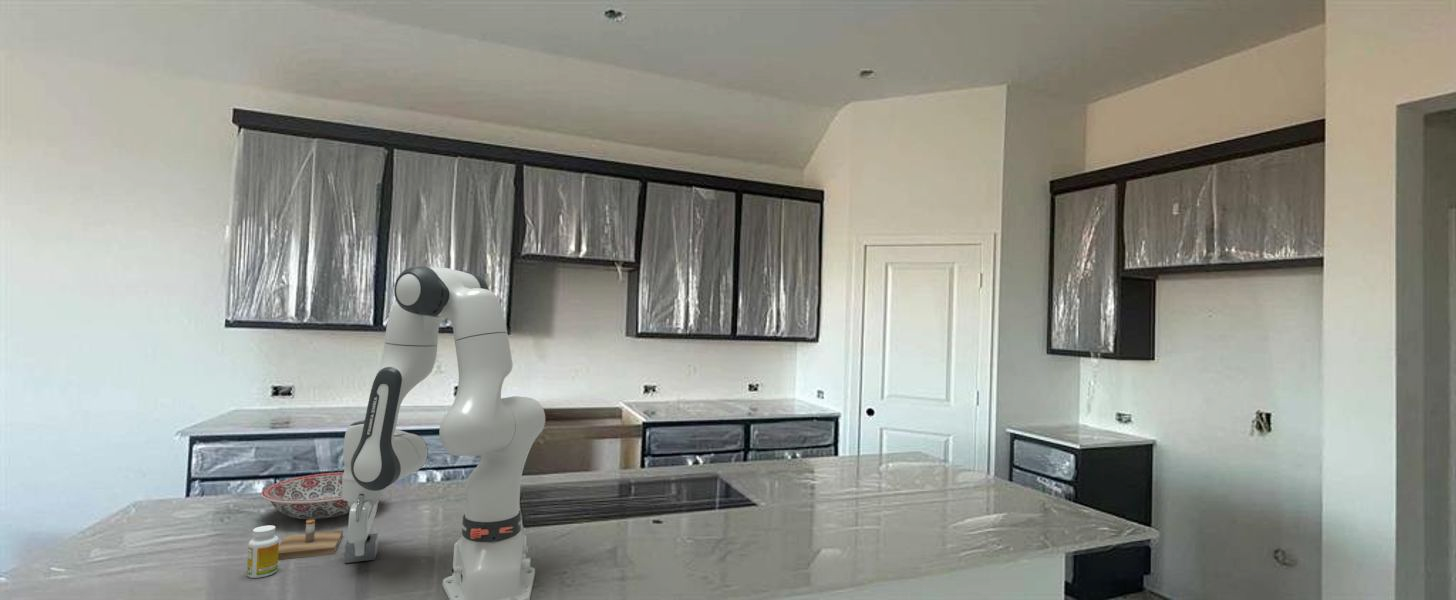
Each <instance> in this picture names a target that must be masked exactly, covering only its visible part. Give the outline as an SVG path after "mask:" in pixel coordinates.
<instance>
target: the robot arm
mask: <svg viewBox="0 0 1456 600" xmlns="http://www.w3.org/2000/svg"><path fill="white" fill-rule="evenodd" d="M393 292H394V298H395V302H394V303H392V304H393V305H392V307H391V310H390V312H389V313H390V314H389V317H388V320H387V324H386V328H385V335H384V336H385V337H384V345H383V353H382V357H381V358H382V359H381V362H380V364H379V369H378V371H377V373H376V375H375V378H374V380H373V382H372V385H371V389H370V394H369V396H368V397H369V398H368V403H367V408H366V411H365V413H366V414H365V418H364V419H363V420H360V421H355V422H353V423H350V425H349V426H348V427H347V428H346V431H345V434H344V439H343V447H342V448H343V450H342V461H343V465H344V468H343V469H344V470H343V472H344V473H343V476H342V500H344V501H348V506H349V507H351V508H350V513H348V525H347V526H348V527H347V540H348V542H349V543H354V546H355V556H362V555H364V552H365V541H366V540H367V537H368V534H370V531H371V528H372V525H373V522H374V520H375V517H376V515H377V512H378V511H377V510H378V504H379V502H380V498H382V497H384V496H385V495H386V488H388V487H389V486H391V485H393V484H394V483H396V482H397V481H400V480H402V479H405V478H406V477H408V476H409V475H412V474H414V473H416V472H417V471H419V470H420V469H422V468H423V467H424V466H425V464H426V463H427V460H428V457H429V449H428V445H427V443H426V442H425V440H424V439H423V437H421V436H420V435H418V434H416V433H412V432H410V433H409V432H407V431H403V430H400V429H398V428H396V427H397V423H398V418H399V414H400V413H399V412H400V409H401V405H402V402H403V400H404V399H405V397H406V396H407V394H409V393H410V391H412V390H413V389H414V388H415V387H416V386H418V384H420V383H421V382H422V381H424V380H425V379H427V377H428V376H429V375H430V374H431V373H432V372H433V368H434V366H435V363H436V360H437V355H438V354H437V352H438V341H439V330H440V326H441V324H442V322H444V321H445V320H446V319H449V320H448V321H450V322H451V325H452V331H453V332H452V333H453V339H454V345H455V353H456V360H457V370H458V382H457V383H458V384H457V389H456V394H455V398H454V400H453V403H452V405H451V407H450V409H449V410H448V411H447V413H446V414H445V415H444V416H443V417H442V419H441V422H440V425H439V431H438V432H439V440H440V442H441V445H442V447H443V448H444V450H446V452H448V453H449V454H450V455H452V456H455V457H478V456H481V458H480V461H479V463H478V464H477V466H476V467H475V468H474V470H472V471H471V473H470V474H469V476H468V478H467V480H466V482H465V483H466V484H465V504H464V505H465V507H464V509H465V511H464V515H462V522H461V534H462V535H461V537H460V538H459V539H458V540H456V542H455V543H453V544H454V545H453V560H452V561H453V562H452V568H451V572H452V575H450V576H447V577H445V578H443V579H442V584H441V586H442V588H443V590H444V592H445V594H446V596H447V598H448V600H531V595H532V590H533V586H534V581H535V576H536V569H535V567H532V566H531V560H532V559H531V558H530V557H527V554H528V553H529V551H530V547H529V545H528V546H527V535H525V534H524V533H523V532H522V531H521V530H522V514H521V513H522V512H521V510H520V497H521V484H522V482H521V481H522V476H523V471H524V467H525V465H526V462H527V458H528V455H529V453H530V450H531V448H532V446H533V444H534V442H535V441H536V439H537V438H538V437H539V435H541V433H542V432H543V430H544V428H545V423H546V413H545V410H544V407H543V406H542V404H541V403H540V402H539V401H538V400H537V399H534V398H533V397H532V398H531V397H526V396H519V395H517V396H509V397H508V396H507V397H503V398H502V388H503V384H504V381H505V379H506V378H507V377H508V376H509V374H510V373H511V372H512V369H513V359H512V351H511V347H510V346H511V345H510V340H509V334H508V329H507V324H506V319H505V316H504V313H503V310H502V307H501V304H500V301H499V299H498V297H497V295H496V294H495V293H494V292H493V291H491V290H490V289H489V286H488V284H487V281H485V279H484V278H482V277H481V276H480V275H478V274H476V273H473V272H469V271H461V270H456V269H452V268H449V267H438V266H436V267H435V266H432V267H431V266H429V267H428V266H423V265H421V266H418V265H417V266H413V267H409V268H406V269H405V270H403V271H402V272H401V273H399V275H398V277H397V278H396V280H395V283H394V291H393Z"/></svg>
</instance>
